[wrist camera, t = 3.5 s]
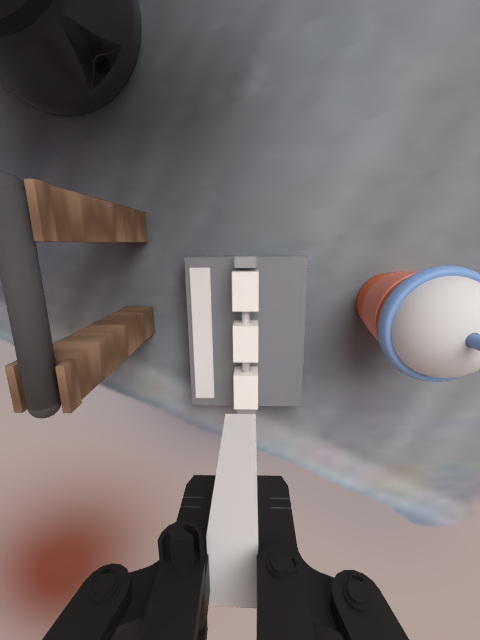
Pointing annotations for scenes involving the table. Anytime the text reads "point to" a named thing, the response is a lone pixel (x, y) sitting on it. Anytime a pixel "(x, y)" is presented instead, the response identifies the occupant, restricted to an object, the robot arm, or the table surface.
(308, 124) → the table surface
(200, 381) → the breaker panel
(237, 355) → the breaker paddles
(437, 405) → the table surface
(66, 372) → the posts
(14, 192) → the dark grey rod
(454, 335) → the cup with straw
